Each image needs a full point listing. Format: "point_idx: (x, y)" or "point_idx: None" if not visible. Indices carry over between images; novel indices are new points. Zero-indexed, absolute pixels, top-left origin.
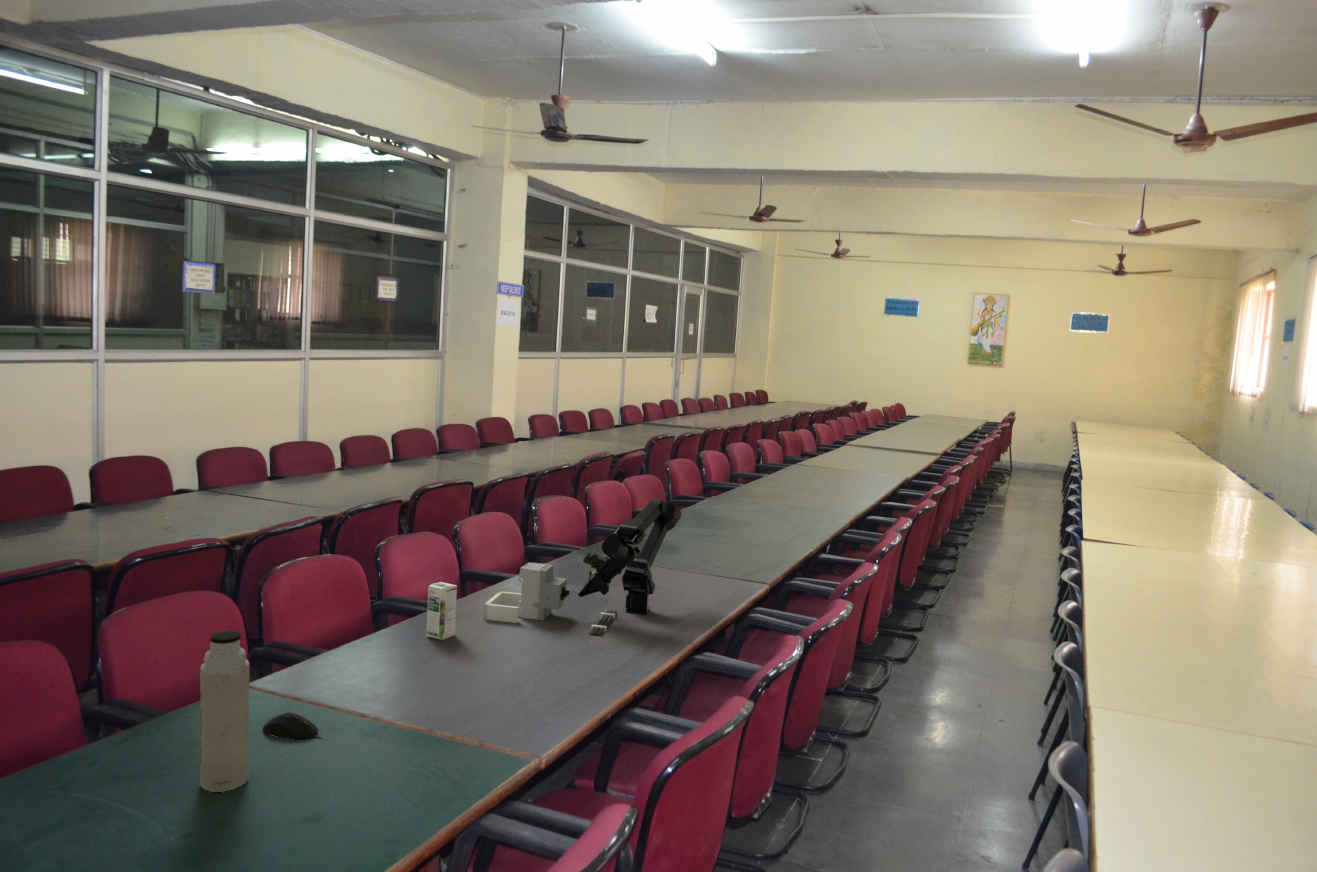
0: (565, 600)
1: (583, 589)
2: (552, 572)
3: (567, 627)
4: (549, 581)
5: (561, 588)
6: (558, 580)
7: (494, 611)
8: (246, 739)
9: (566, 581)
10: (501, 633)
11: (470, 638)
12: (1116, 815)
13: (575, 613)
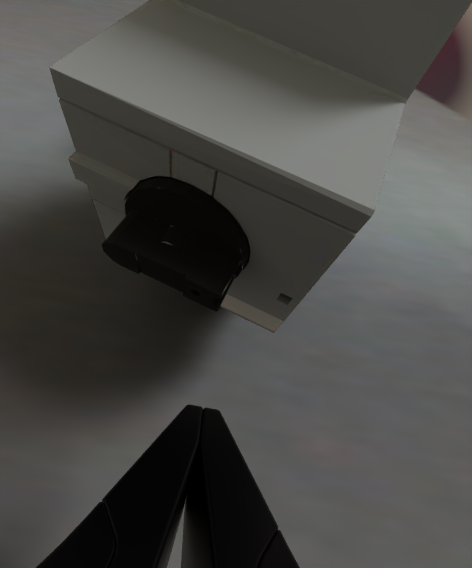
0: (269, 322)
1: (126, 476)
2: (419, 20)
3: (2, 331)
4: (227, 38)
5: (150, 171)
6: (273, 111)
7: None
8: None
9: (339, 230)
10: (27, 76)
11: (11, 9)
12: None
13: (276, 427)
